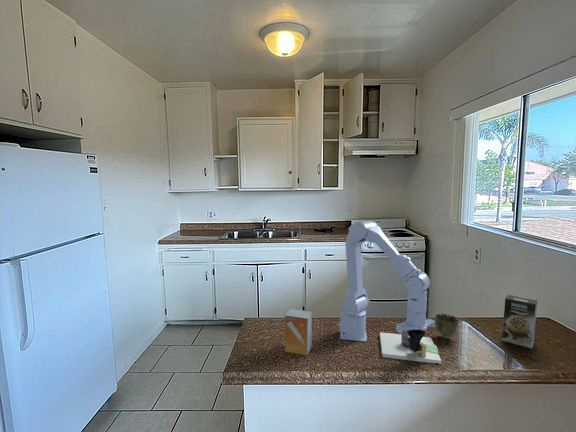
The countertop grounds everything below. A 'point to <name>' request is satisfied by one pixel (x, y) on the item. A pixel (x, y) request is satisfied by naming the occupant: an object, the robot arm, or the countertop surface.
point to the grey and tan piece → (406, 342)
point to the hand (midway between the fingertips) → (414, 350)
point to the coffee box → (519, 321)
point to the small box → (298, 331)
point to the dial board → (407, 349)
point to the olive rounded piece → (446, 325)
